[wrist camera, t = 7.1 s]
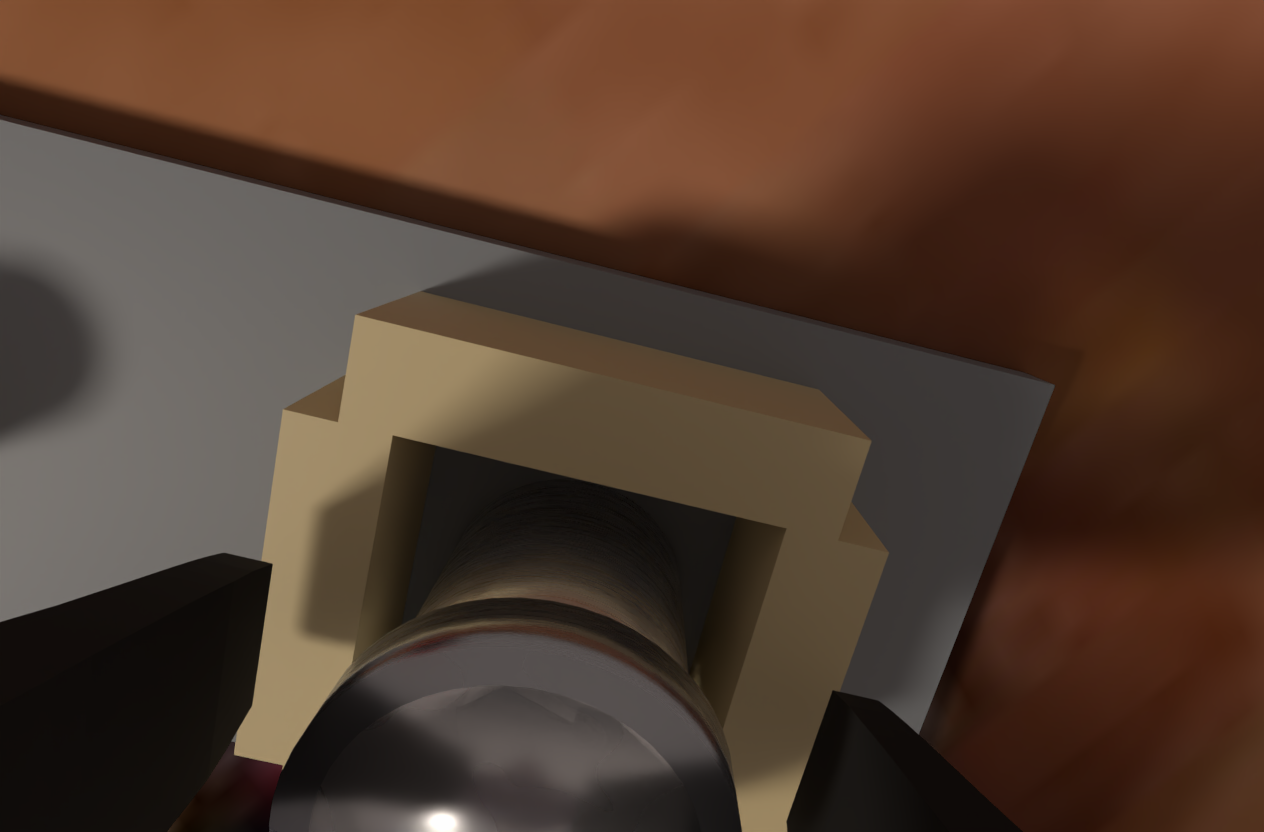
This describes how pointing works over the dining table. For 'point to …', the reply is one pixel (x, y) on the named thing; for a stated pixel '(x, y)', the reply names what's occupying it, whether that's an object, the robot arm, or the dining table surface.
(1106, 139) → the dining table surface
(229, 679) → the robot arm
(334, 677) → the board
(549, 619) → the cylinder
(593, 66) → the dining table surface
